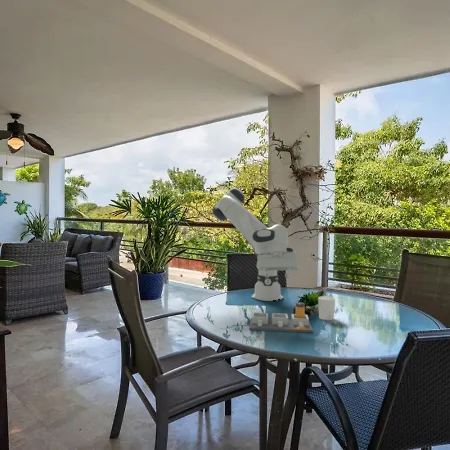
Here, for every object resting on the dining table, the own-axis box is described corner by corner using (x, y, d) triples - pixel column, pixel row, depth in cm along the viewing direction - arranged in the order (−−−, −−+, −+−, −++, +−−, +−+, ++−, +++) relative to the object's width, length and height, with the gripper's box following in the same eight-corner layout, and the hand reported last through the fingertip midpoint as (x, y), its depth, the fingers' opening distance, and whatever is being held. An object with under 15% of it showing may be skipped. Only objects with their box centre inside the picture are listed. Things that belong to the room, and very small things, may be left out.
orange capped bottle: (293, 322, 164) (293, 302, 163) (300, 321, 165) (300, 301, 165) (299, 324, 160) (299, 304, 160) (306, 323, 162) (306, 303, 162)
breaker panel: (250, 320, 170) (250, 311, 170) (308, 322, 167) (308, 314, 167) (249, 329, 156) (249, 320, 156) (312, 332, 153) (312, 323, 153)
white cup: (334, 316, 177) (335, 296, 176) (335, 321, 169) (335, 300, 169) (318, 315, 179) (318, 295, 178) (317, 320, 171) (318, 299, 171)
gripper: (256, 249, 179) (253, 273, 170) (298, 249, 173) (297, 273, 164) (258, 256, 183) (256, 280, 175) (299, 256, 177) (298, 280, 169)
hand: (276, 277), depth 169 cm, fingers open, 8 cm apart
